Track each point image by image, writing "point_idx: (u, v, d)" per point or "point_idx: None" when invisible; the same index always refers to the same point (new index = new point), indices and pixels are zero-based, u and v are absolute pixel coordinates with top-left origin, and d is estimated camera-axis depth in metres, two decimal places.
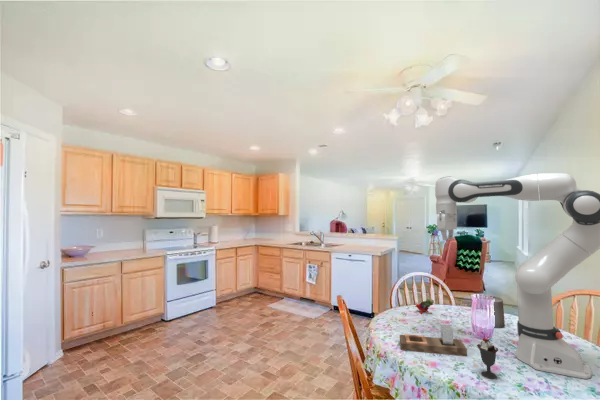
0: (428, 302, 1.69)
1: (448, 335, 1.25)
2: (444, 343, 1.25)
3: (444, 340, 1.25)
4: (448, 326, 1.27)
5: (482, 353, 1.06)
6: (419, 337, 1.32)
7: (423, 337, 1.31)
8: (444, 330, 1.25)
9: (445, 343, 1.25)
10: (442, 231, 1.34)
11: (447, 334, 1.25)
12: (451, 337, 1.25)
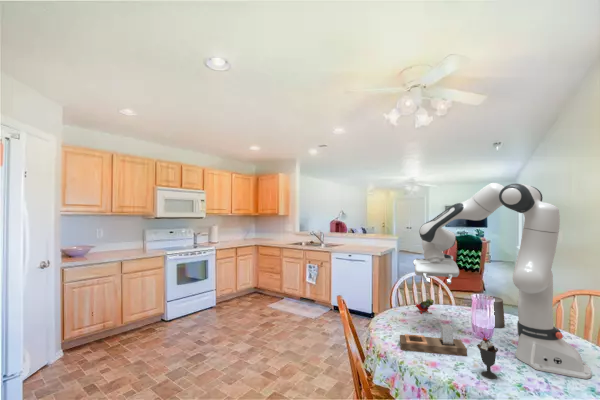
0: (428, 302, 1.69)
1: (448, 335, 1.25)
2: (444, 343, 1.25)
3: (444, 340, 1.25)
4: (448, 326, 1.27)
5: (482, 353, 1.06)
6: (419, 337, 1.32)
7: (423, 337, 1.31)
8: (444, 330, 1.26)
9: (445, 343, 1.25)
10: (423, 275, 1.44)
11: (447, 334, 1.25)
12: (451, 337, 1.25)
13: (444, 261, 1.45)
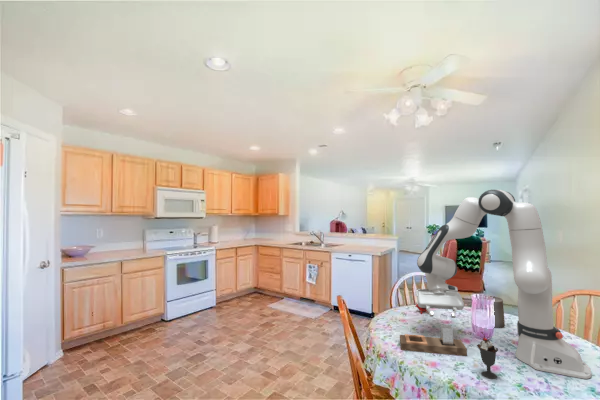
0: None
1: (448, 335, 1.25)
2: (444, 343, 1.25)
3: (444, 340, 1.25)
4: (448, 326, 1.27)
5: (482, 353, 1.06)
6: (419, 337, 1.32)
7: (423, 337, 1.31)
8: (444, 330, 1.26)
9: (445, 343, 1.25)
10: (426, 308, 1.39)
11: (447, 334, 1.25)
12: (451, 337, 1.25)
13: (448, 293, 1.39)
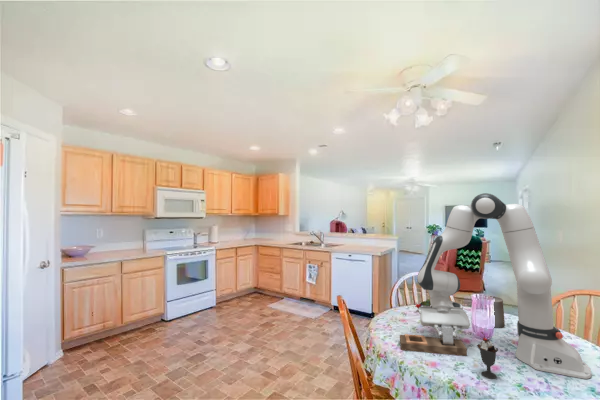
0: (428, 302, 1.69)
1: (448, 335, 1.25)
2: (444, 343, 1.25)
3: (444, 340, 1.25)
4: (448, 326, 1.27)
5: (482, 353, 1.06)
6: (419, 337, 1.32)
7: (423, 337, 1.31)
8: (444, 330, 1.26)
9: (445, 343, 1.25)
10: (434, 327, 1.31)
11: (447, 334, 1.25)
12: (451, 337, 1.25)
13: (453, 310, 1.31)
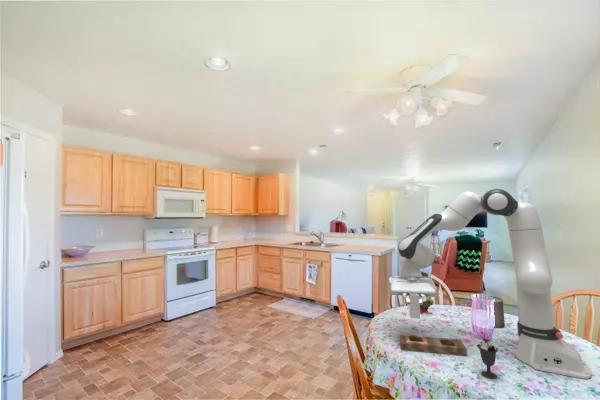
0: (428, 302, 1.69)
1: (415, 302, 1.29)
2: (411, 310, 1.29)
3: (411, 307, 1.29)
4: (415, 294, 1.31)
5: (482, 353, 1.06)
6: (419, 337, 1.32)
7: (423, 337, 1.31)
8: (411, 297, 1.29)
9: (412, 310, 1.29)
10: (403, 295, 1.34)
11: (414, 301, 1.29)
12: (418, 304, 1.29)
13: (421, 279, 1.35)
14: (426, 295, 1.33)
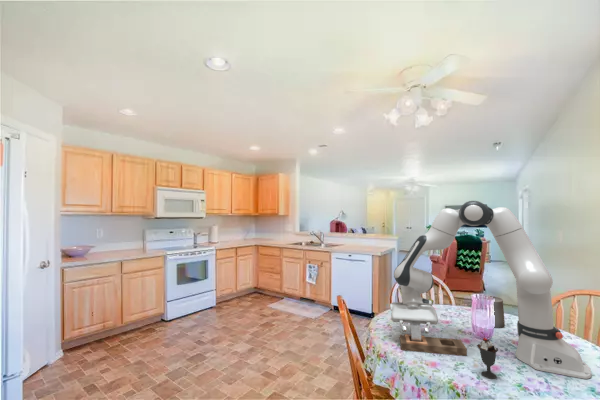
0: None
1: (416, 332, 1.28)
2: (412, 340, 1.29)
3: (412, 337, 1.29)
4: (417, 324, 1.30)
5: (482, 353, 1.06)
6: None
7: (423, 337, 1.31)
8: (412, 328, 1.29)
9: (413, 340, 1.28)
10: (399, 322, 1.34)
11: (415, 332, 1.28)
12: (419, 334, 1.28)
13: (422, 306, 1.35)
14: None
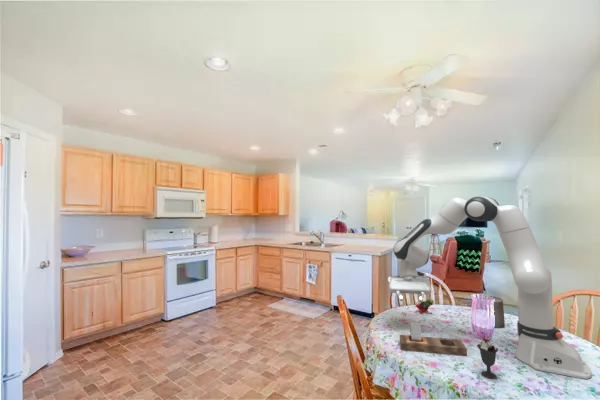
0: (428, 302, 1.69)
1: (416, 333, 1.28)
2: (412, 340, 1.29)
3: (412, 337, 1.29)
4: (417, 324, 1.30)
5: (482, 353, 1.06)
6: None
7: (423, 337, 1.31)
8: (412, 328, 1.29)
9: (413, 340, 1.28)
10: (396, 293, 1.47)
11: (415, 332, 1.28)
12: (419, 334, 1.28)
13: (417, 278, 1.48)
14: None
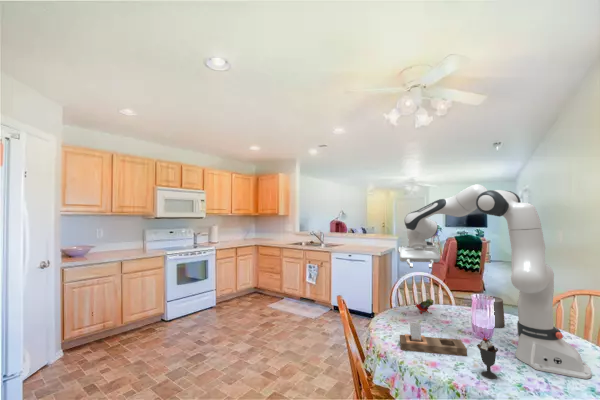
0: (428, 302, 1.69)
1: (416, 333, 1.28)
2: (412, 340, 1.29)
3: (412, 337, 1.29)
4: (417, 324, 1.30)
5: (482, 353, 1.06)
6: None
7: (423, 337, 1.31)
8: (412, 328, 1.29)
9: (413, 340, 1.28)
10: (406, 261, 1.56)
11: (415, 332, 1.28)
12: (419, 334, 1.28)
13: (426, 248, 1.56)
14: None
